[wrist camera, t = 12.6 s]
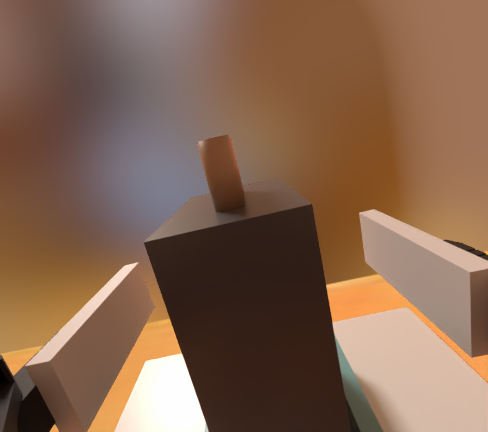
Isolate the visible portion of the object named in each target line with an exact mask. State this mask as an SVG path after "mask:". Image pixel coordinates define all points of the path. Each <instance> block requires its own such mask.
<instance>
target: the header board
mask: <svg viewBox="0 0 488 432" xmlns="http://www.w3.org/2000/svg"><path fill="white" fill-rule="evenodd" d="M332 323H333V329H334V335H335V341H336V347H337V352H338V358H339V364H340V370H341V376H342V381H343V387H344V393H345V399H346V405H347V410H348V416H349V422H350V428H351V432H488V383H487V382H486V381H485V380H484V379H482V378H481V377H480V376H479V375H478V374H477V373H476V372H475V371H474V370H473V369H472V368H471V367H470V366H469V365H468V364H467V363H466V362H465V361H464V360H462V359H461V358H460V357H459V356H458V355H457V354H456V353H455V352H454V351H453V350H452V349H451V348H450V347H449V346H448V345H447V344H446V343H445V342H444V341H442V340H441V339H440V338H439V337H438V336H437V335H436V334H435V333H434V332H433V331H432V330H431V329H430V328H429V327H428V326H427V325H426V324H425V323H423V322H422V321H421V320H420V319H419V318H418V317H417V316H416V315H415V314H414V313H413V312H412V311H411V310H410V309H409V308H408V307H404V308H399V309H395V310H390V311H385V312H380V313H375V314H370V315H366V316H361V317H356V318H351V319H346V320H342V321H337V322H332ZM114 432H209V431H208V428H207V425H206V422H205V419H204V416H203V413H202V410H201V407H200V404H199V401H198V399H197V396H196V393H195V390H194V387H193V384H192V381H191V378H190V375H189V372H188V369H187V367H186V364H185V361H184V358H183V355H182V354H178V355H173V356H168V357H163V358H158V359H153V360H149V361H146V362H145V364H144V366H143V369H142V371H141V373H140V375H139V378H138V380H137V382H136V384H135V386H134V389H133V391H132V393H131V395H130V398H129V400H128V402H127V404H126V407H125V409H124V411H123V413H122V416H121V418H120V420H119V422H118V424H117V427H116V429H115V431H114Z"/></svg>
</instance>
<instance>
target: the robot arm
mask: <svg viewBox="0 0 488 432" xmlns="http://www.w3.org/2000/svg"><path fill="white" fill-rule="evenodd" d="M359 215H360V223H361V230H362V238H363V246H364V254H365V262H366V263H367V264H368V265H370V266H371V267H372V268H373V269H374V270H375V271H376V272H377V273H379V274H380V275H381V276H382V277H383V278H384V279H385V280H386V281H387V282H388V283H389V284H391V285H392V286H393V287H394V288H395V289H396V290H397V291H398V292H399V293H401V294H402V295H403V296H404V297H405V298H406V299H407V300H408V301H409V302H411V303H412V304H413V305H414V306H415V307H416V308H417V309H418V310H419V311H420V312H422V313H423V314H424V315H425V316H426V317H427V318H428V319H429V320H430V321H432V322H433V323H434V324H435V325H436V326H437V327H438V328H439V329H440V330H442V331H443V332H444V333H445V334H446V335H447V336H448V337H449V338H450V339H451V340H453V341H454V342H455V343H456V344H457V345H458V346H459V347H460V348H461V349H463V350H464V351H465V352H466V353H467V354H468V355H469V356H470V357H471V358H472V357H477V356H482V355H487V354H488V255H486V253H484V252H481V251H479V250H475V249H474V248H472V247H470V246H467V245H465V244H463V243H459V242H454V241H449V240H441V239H438V238H436V237H434V236H432V235H429V234H427V233H425V232H423V231H421V230H418V229H416V228H414V227H412V226H410V225H407V224H405V223H403V222H401V221H399V220H396V219H394V218H392V217H390V216H387V215H385V214H383V213H381V212H379V211H376V210H370V211H365V212H361V213H359ZM153 309H154V304H153V301H152V299H151V296H150V293H149V290H148V288H147V285H146V282H145V279H144V277H143V274H142V271H141V268H140V266H139V263H135V264H130V265H125V266H124V267H123V268H122V269H121V270H120V271H119V272H118V273H117V274H116V275H115V276H114V277H113V278H112V279H111V280H110V281H109V282H108V283H107V284H106V285H105V286H104V287H103V288H102V289H101V290H100V291H99V292H98V293H97V294H96V295H95V296H94V297H93V298H92V299H91V300H90V301H89V302H88V303H87V304H86V305H85V306H84V307H83V308H82V309H81V310H80V311H79V312H78V313H77V314H76V315H75V316H74V317H73V318H72V319H71V320H70V321H69V322H68V323H67V324H66V325H65V326H64V327H63V328H62V329H61V330H60V331H58V332H57V333H56V334H55V335H54V336H53V337H52V338H51V339H50V340H49V342H48V343H46V344H45V345H44V346H43V347H42V348H41V349H40V351H39V352H37V353H36V354H35V355H34V356H33V357H32V358H31V359H30V360H29V361H28V362H27V363H26V364H25V365H24V366H23V367H22V368H21V369H20V370H19V371H18V372H17V373H16V374H15V375H14V376H13V375H12V373H11V371H10V370H9V368H8V366H7V364H6V362H5V361H4V359H3V357H2V355H0V432H49V431H50V430H51V428H52V427H53V425H54V424H56V426H57V428H58V430H59V432H87V431H88V429H89V427H90V425H91V424H92V422H93V420H94V418H95V416H96V414H97V413H98V411H99V409H100V407H101V405H102V403H103V401H104V400H105V398H106V396H107V394H108V392H109V390H110V389H111V387H112V385H113V383H114V381H115V379H116V378H117V376H118V374H119V372H120V370H121V368H122V367H123V365H124V363H125V361H126V359H127V357H128V355H129V354H130V352H131V350H132V348H133V346H134V344H135V343H136V341H137V339H138V337H139V335H140V333H141V332H142V330H143V328H144V326H145V324H146V322H147V321H148V319H149V316H150V315H151V313H152V311H153Z"/></svg>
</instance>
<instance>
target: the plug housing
mask: <svg viewBox="0 0 488 432" xmlns="http://www.w3.org/2000/svg"><path fill="white" fill-rule="evenodd" d="M197 145H198V148H199V152H200V156H201V160H202V163H203V167H204V171H205V174H206V178H207V182H208V186H209V190H210V194H205V195H201V196H197V197H192V198H190V199H189V200H188V201H187V202H186V203H185V204H184V205H183V206H182V207H181V208H180V209H179V210H178V211H177V212H175V214H173V215H172V216H171V217H170V218H169V219H168V220H167V221H166V222H165V223H164V224H163V225H162V226H161V227H160V228H159V229H157V230H156V231H155V232H154V233H153V234H152V235H151V236H150V237H149V238H148V239H147V240H146V241H145V242H144V244H145V247H146V250H147V253H148V256H149V259H150V262H151V264H152V268H153V271H154V273H155V276H156V279H157V282H158V285H159V288H160V291H161V294H162V297H163V300H164V302H165V305H166V308H167V311H168V314H169V317H170V320H171V323H172V326H173V329H174V332H175V335H176V337H177V340H178V343H179V346H180V349H181V352H182V355H183V358H184V361H185V364H186V367H187V369H188V372H189V375H190V378H191V381H192V384H193V387H194V390H195V393H196V396H197V399H198V401H199V404H200V407H201V410H202V413H203V416H204V419H205V422H206V425H207V428H208V431H209V432H351V428H350V422H349V416H348V410H347V405H346V399H345V393H344V387H343V381H342V376H341V370H340V364H339V358H338V352H337V347H336V341H335V335H334V329H333V323H332V318H331V312H330V306H329V300H328V294H327V289H326V283H325V277H324V271H323V265H322V260H321V254H320V248H319V242H318V237H317V230H316V225H315V219H314V213H313V207H312V204H311V203H310V202H309V201H307V200H306V199H305V198H303V197H302V196H301V195H299V194H298V193H297V192H295V191H294V190H293V189H291V188H290V187H289V186H287V185H286V184H285V183H283V182H282V181H281V180H279V179H278V178H274V179H270V180H265V181H262V182H257V183H253V184H248V185H244V186H242V182H241V178H240V173H239V169H238V165H237V161H236V156H235V152H234V148H233V143H232V139H230V137H229V136H228V135H225V136H219V137H214V138H210V139H206V140H203V141H200V142H197Z"/></svg>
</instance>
